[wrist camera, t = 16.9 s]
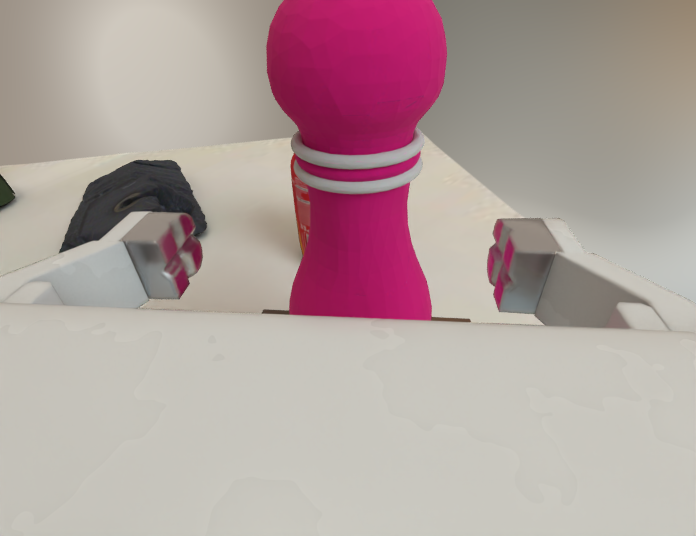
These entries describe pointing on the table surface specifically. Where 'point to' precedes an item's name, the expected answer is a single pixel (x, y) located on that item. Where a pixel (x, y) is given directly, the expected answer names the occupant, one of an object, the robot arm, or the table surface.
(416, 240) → the table surface
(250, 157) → the table surface
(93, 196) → the dark slate chunk
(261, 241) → the table surface
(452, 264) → the table surface
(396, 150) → the pepper mill
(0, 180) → the character mug
